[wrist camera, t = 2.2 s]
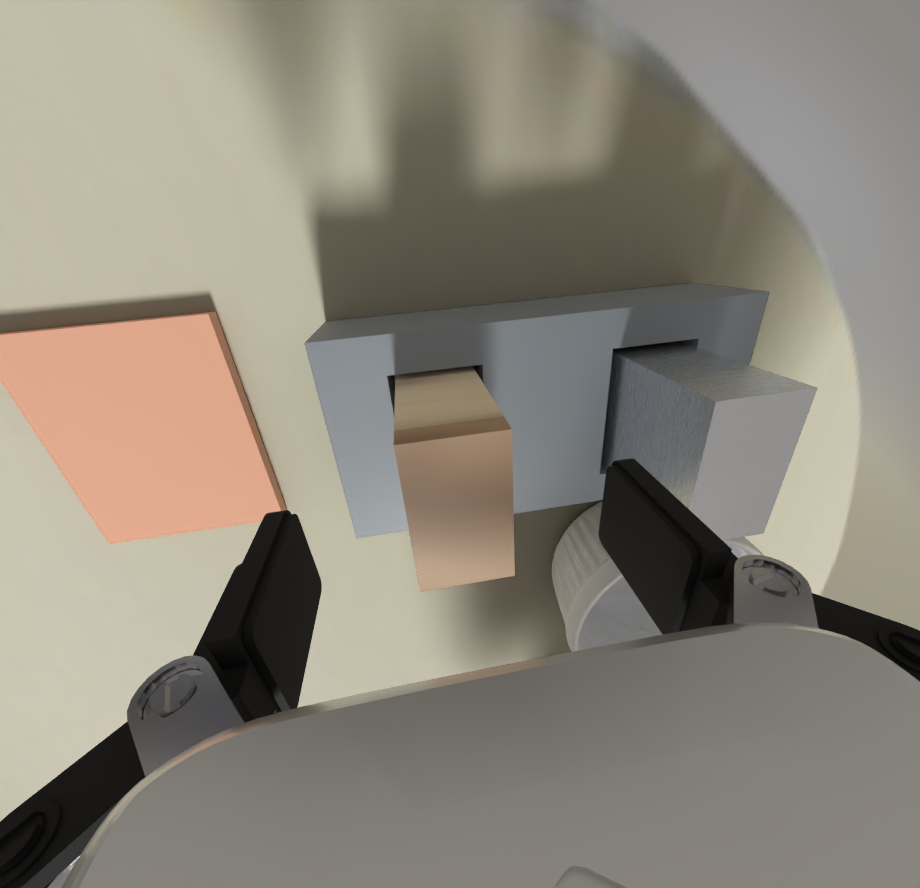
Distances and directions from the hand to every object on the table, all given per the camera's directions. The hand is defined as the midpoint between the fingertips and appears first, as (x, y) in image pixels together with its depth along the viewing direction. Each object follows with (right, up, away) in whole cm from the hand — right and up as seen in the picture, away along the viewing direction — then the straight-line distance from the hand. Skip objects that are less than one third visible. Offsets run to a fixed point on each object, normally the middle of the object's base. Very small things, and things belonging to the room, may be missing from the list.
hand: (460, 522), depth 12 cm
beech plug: (-2, +5, +11) cm, 12 cm away
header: (+3, +6, +11) cm, 13 cm away
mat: (-16, +3, +9) cm, 19 cm away
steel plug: (+8, +6, +12) cm, 16 cm away
